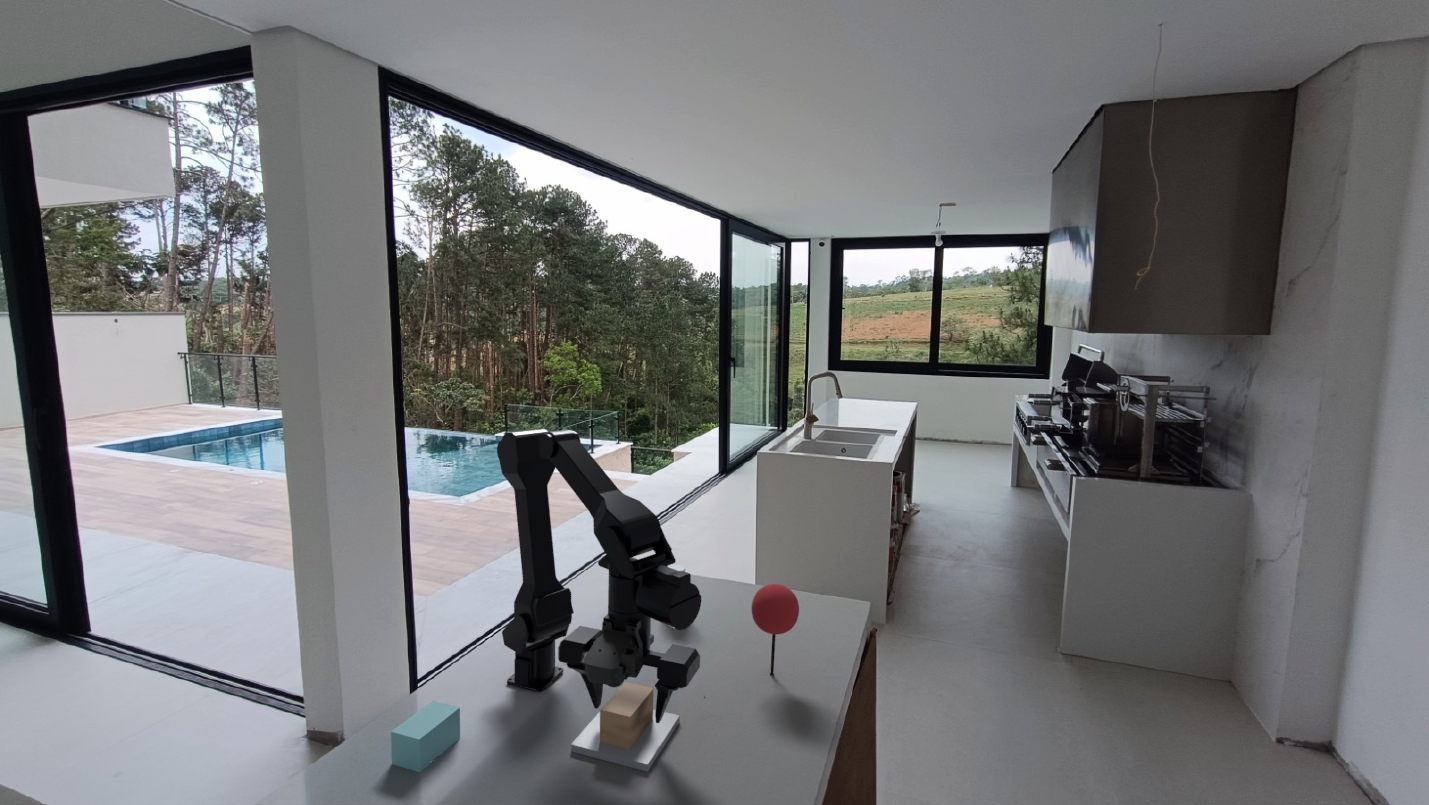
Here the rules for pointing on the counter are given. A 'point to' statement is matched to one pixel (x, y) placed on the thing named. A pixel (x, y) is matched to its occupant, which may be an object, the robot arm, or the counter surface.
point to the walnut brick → (626, 715)
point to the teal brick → (425, 736)
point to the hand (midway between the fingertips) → (627, 714)
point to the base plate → (638, 754)
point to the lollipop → (775, 611)
